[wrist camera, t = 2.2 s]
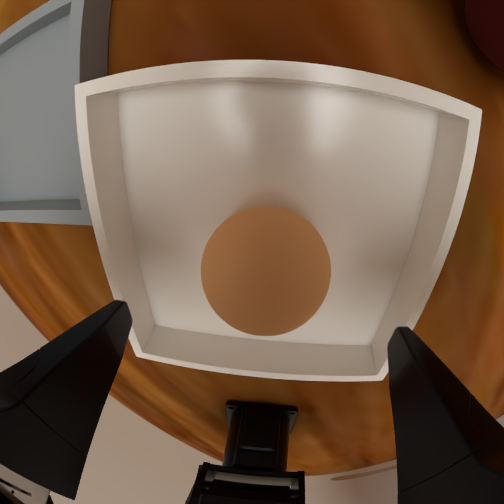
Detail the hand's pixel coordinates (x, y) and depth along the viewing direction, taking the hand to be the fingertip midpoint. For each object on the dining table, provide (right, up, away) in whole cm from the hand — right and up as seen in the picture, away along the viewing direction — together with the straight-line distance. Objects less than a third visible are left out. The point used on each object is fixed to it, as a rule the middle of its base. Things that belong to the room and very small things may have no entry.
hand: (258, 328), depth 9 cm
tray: (-13, +10, +3) cm, 17 cm away
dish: (+1, +3, +5) cm, 6 cm away
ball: (0, +2, +2) cm, 3 cm away
